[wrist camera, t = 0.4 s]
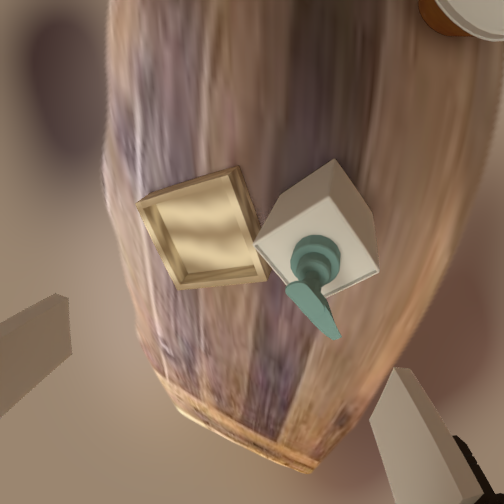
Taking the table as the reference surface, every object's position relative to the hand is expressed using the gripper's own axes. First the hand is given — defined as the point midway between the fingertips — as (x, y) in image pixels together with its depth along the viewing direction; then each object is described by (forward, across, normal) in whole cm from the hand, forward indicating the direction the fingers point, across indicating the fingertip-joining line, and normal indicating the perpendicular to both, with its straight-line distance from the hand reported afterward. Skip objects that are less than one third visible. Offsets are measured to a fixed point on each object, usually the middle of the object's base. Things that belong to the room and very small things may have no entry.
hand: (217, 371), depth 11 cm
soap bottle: (+30, +7, +6) cm, 31 cm away
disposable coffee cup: (+18, +16, +32) cm, 40 cm away
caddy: (+34, -8, 0) cm, 35 cm away
